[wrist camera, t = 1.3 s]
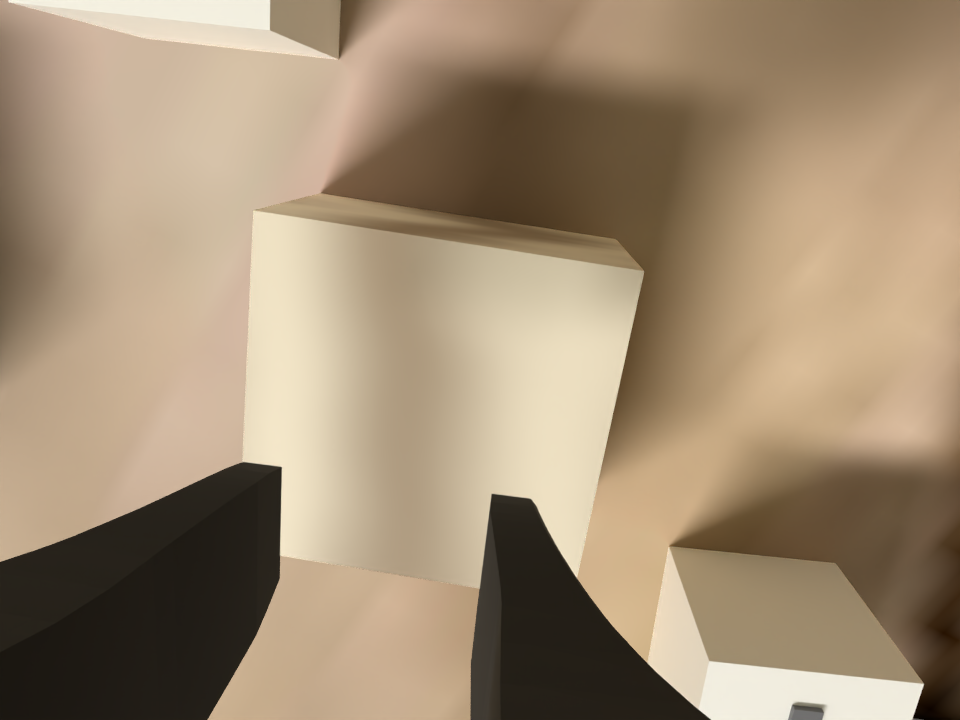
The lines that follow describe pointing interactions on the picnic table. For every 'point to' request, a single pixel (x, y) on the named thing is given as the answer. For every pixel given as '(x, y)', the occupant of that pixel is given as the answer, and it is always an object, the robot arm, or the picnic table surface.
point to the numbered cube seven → (215, 22)
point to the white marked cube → (775, 641)
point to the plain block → (429, 378)
